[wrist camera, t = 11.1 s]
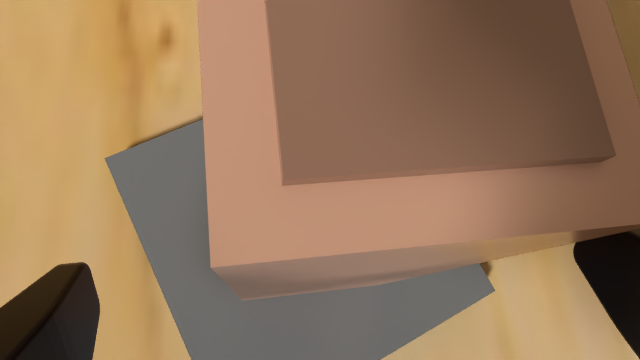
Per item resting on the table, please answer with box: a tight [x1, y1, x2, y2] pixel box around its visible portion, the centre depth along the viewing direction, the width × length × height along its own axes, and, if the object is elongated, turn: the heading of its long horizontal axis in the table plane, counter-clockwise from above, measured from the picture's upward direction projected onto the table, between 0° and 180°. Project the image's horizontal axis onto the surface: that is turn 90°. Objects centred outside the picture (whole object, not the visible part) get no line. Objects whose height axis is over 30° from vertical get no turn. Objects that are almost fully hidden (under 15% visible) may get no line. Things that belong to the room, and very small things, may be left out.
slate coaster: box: [105, 119, 495, 360], centre depth 16 cm, size 10×10×1 cm
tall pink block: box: [197, 0, 640, 301], centre depth 10 cm, size 4×4×12 cm
